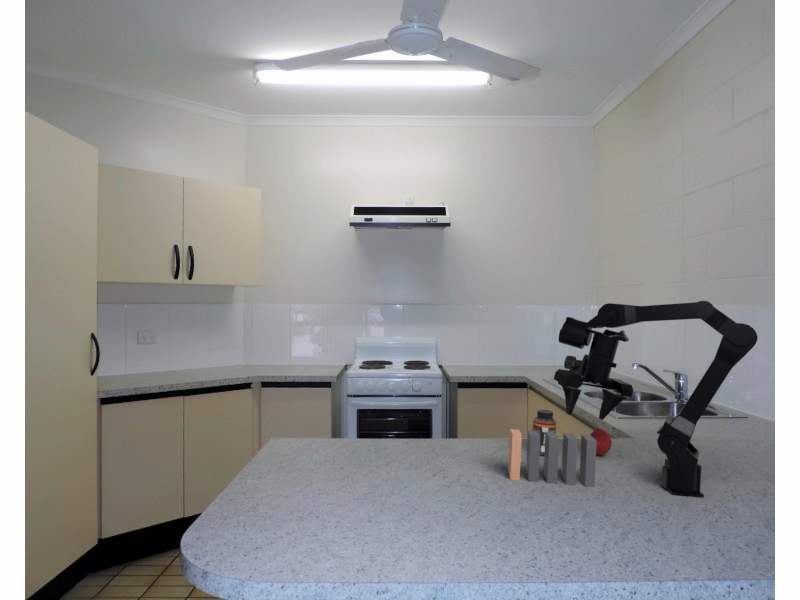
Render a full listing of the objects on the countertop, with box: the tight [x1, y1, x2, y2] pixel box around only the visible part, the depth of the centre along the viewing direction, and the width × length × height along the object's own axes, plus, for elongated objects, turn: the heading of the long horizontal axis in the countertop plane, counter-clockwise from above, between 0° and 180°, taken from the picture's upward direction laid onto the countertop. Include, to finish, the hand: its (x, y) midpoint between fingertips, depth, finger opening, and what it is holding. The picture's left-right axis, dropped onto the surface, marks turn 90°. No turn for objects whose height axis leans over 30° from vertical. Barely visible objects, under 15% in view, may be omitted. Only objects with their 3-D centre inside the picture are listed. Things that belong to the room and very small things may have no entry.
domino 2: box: [525, 430, 540, 483], centre depth 112 cm, size 2×5×10 cm, turn 173°
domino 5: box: [579, 434, 597, 488], centre depth 111 cm, size 2×5×10 cm, turn 173°
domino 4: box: [561, 432, 578, 486], centre depth 111 cm, size 2×5×10 cm, turn 173°
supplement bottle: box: [532, 409, 557, 457], centre depth 132 cm, size 6×6×11 cm
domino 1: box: [507, 428, 523, 481], centre depth 113 cm, size 2×5×10 cm, turn 173°
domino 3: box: [543, 432, 560, 484], centre depth 112 cm, size 2×5×10 cm, turn 173°
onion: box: [589, 425, 613, 456], centre depth 133 cm, size 6×6×8 cm
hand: (584, 416), depth 120 cm, fingers open, 9 cm apart
